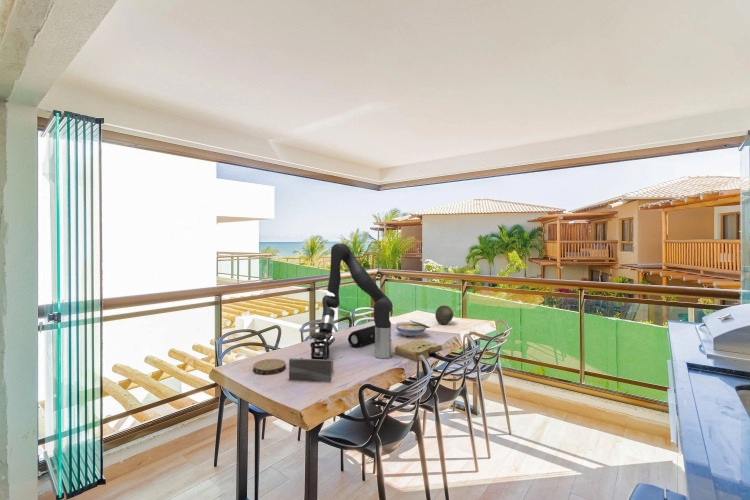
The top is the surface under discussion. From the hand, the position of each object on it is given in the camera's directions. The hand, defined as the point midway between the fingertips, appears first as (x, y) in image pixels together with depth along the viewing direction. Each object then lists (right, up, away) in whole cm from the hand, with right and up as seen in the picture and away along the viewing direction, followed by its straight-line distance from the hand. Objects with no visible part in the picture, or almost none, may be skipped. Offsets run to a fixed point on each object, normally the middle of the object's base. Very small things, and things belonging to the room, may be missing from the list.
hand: (321, 353), depth 194 cm
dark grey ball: (+85, -4, +95) cm, 127 cm away
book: (+55, -6, +18) cm, 59 cm away
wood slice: (-25, -6, -11) cm, 28 cm away
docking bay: (-1, -6, -18) cm, 19 cm away
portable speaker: (+23, -5, +38) cm, 45 cm away
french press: (0, -6, -5) cm, 7 cm away
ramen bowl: (+54, -5, +59) cm, 80 cm away
